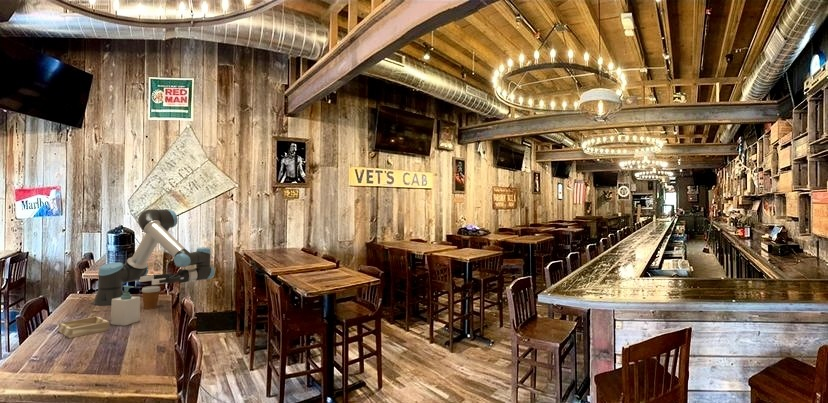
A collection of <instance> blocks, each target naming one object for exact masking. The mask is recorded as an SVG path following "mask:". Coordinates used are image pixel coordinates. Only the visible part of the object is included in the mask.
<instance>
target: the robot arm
mask: <svg viewBox="0 0 828 403" xmlns="http://www.w3.org/2000/svg"><path fill="white" fill-rule="evenodd" d="M137 223H138V226H139V227H140V229H141V230H142V231H143V232H144V233H145V234H144V236H143V237H142V239H141V241H140V243H139V245H138V247H137V248H136V250H135V252H134V253H133V255H132V256H131V257H128V258H127V260H126V261H125V263H123V262H110V263H105V264H103V265H101V266H99V269H98V278H97V279H98V283H97V292H96V294H95V296H94V299H93V305H94V306H110V305H111V304H112V299H114V298H118V297H121V296H122V295H123V293H124V291H123V283H124V284H125V283H130V282H131V283H132V282H137V281H139V282H140V283H143V282H151V286H157V285H162V284H173V283H176V282H178V283H179V284H181V283H182V284H183V283H187V282H188V283H193V282H197V281H202V280H204V281H205V280H210V279H213V277H214V276H215V274H216V271H215V268H214V266H211V257H212V256H211V253H212V252H211V248H210V247H207V246H206V247H197V248H196V251H191V252H190V251H189V250H188V249H186V247H184V246H183V245H182V244H181V243H180V242H179V241H178V240H177V239H176V238H175V237H174V236H172V234H171V233H170V232H169V231H170V228H174V227H176V226H177V224H178V215H177V213H176V212H175V211H174V210H172V209H167V208H165V209H155V208H154V209H151V208H150V209H146V210H144V211H142V212H141V213H140V214H139V216H138V218H137ZM158 244H159V245H160V246H161V247H162V248H163V249H164V250H165V251H167V253H168V254H170V255H171V257H173V262H174V265H175V266H176V267H178V268H182V267H183V268H184V267H189V266H195V267H193V268H186V269H185V268H184V269H179V270H178V271H177V273H174V272H171V273H161V274H160V273H159V274H152V275H148V273H149V266H148V260H150V257H151V255H152V254H153V252H154V250H155V249H156V247H157V246H158Z"/></svg>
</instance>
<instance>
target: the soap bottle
mask: <svg viewBox="0 0 828 403" xmlns="http://www.w3.org/2000/svg"><path fill="white" fill-rule="evenodd" d="M122 288H124V291H123V295H122V296H121V297H118V298H114V299H112V304H111V306H110V324H111V325H115V326H123V327H124V326H128V325H131V324H134V323H137V322H140V311H141V310H140V309H141V296H137V295H136V296H135V295H132V294H131V293H130V292H129V290H130V289H131V288H132V289H133V288H134V289H135V286H132V285H126V284H125V285H122Z"/></svg>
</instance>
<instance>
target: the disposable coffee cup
mask: <svg viewBox="0 0 828 403" xmlns="http://www.w3.org/2000/svg"><path fill="white" fill-rule="evenodd" d="M141 292H142V299H143V300H142V301H143V302H142V303H143V309H144V308H145V310H151V309H150V308H153V309H156V308H157V307H158V303H159V297H160V292H161V286H158V285H149V286H144V287H142V289H141ZM155 307H156V308H155Z"/></svg>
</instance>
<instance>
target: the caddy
mask: <svg viewBox="0 0 828 403" xmlns="http://www.w3.org/2000/svg"><path fill="white" fill-rule="evenodd" d="M57 330H58V333H61V335H64V336H65V337H67V339H68V338H69V339H73V338H77V337H83V336H87V335H92V334H97V333H102V332H107V331H110V321H109V320H107V319H104V318H102V317H100V316H98V315H97V316H90V317H86V318H81V319H80V318H79V319H78V318H77V319H75V320H74V319H73V320H68V321H67V320H66V321H63V322H59V323H58V329H57Z"/></svg>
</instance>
